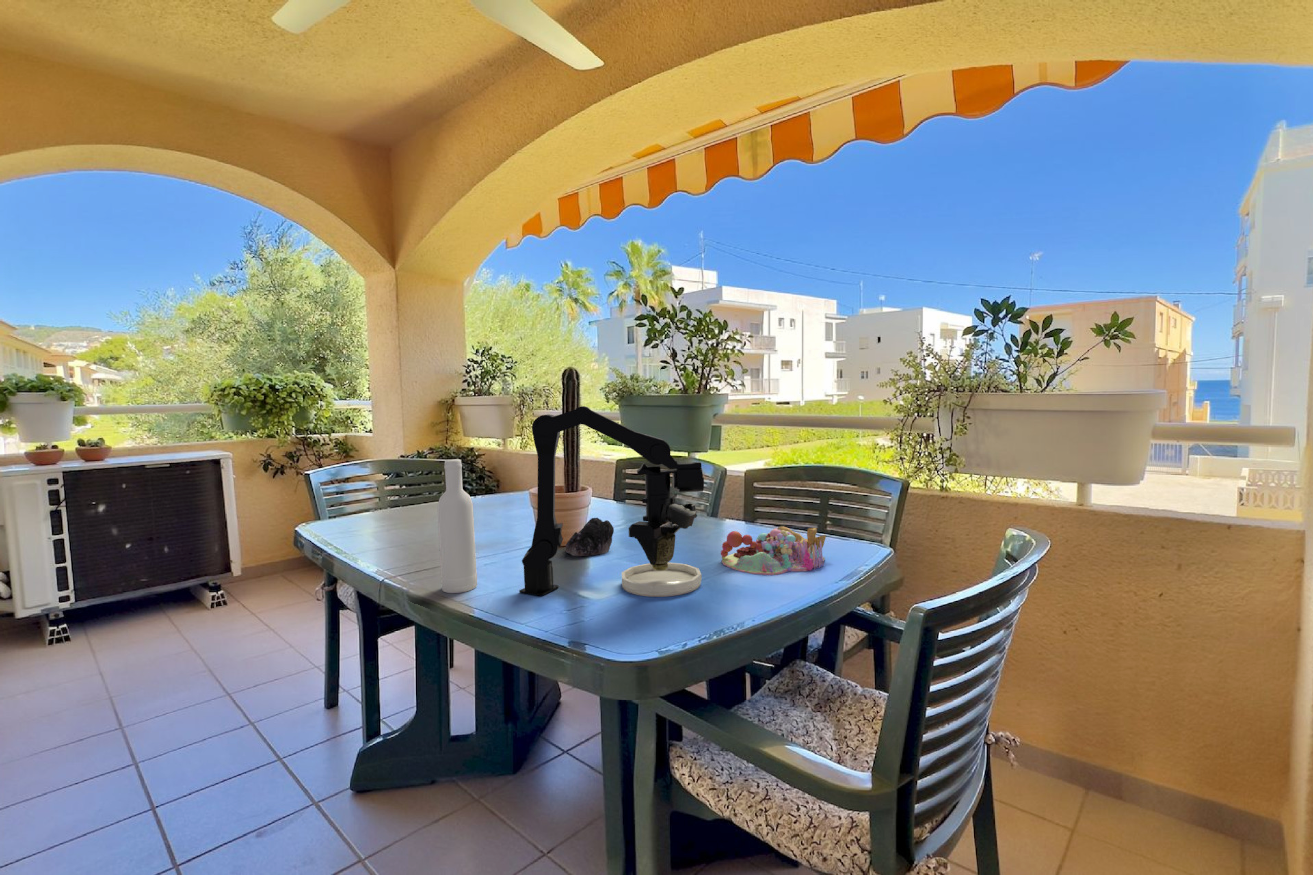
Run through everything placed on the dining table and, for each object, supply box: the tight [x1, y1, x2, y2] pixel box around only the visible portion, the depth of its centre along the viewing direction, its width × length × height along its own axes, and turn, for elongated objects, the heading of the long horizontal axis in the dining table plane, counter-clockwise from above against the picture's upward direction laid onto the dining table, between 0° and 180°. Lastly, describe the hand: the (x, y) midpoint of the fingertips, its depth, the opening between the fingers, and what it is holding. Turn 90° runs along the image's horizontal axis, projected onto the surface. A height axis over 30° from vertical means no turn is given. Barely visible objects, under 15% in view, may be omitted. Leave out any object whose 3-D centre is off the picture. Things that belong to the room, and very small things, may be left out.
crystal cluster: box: [565, 517, 615, 557], centre depth 171 cm, size 14×14×10 cm
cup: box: [646, 532, 676, 571], centre depth 138 cm, size 8×7×8 cm
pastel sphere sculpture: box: [720, 526, 827, 576], centre depth 154 cm, size 25×24×9 cm
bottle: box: [436, 458, 478, 594], centre depth 139 cm, size 8×8×30 cm
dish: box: [621, 561, 703, 598], centre depth 138 cm, size 18×18×2 cm
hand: (660, 560), depth 138 cm, fingers closed on cup, 6 cm apart
